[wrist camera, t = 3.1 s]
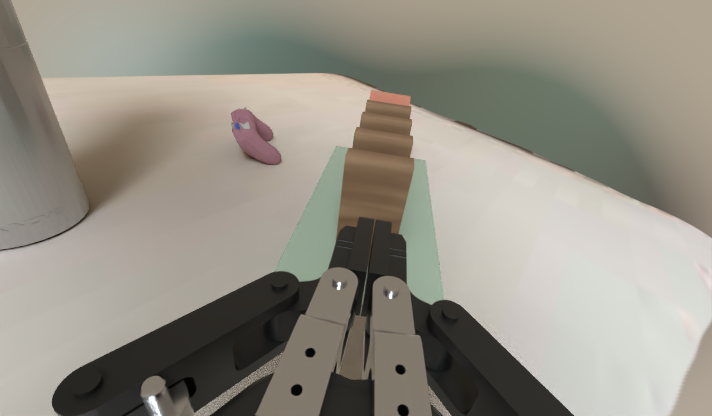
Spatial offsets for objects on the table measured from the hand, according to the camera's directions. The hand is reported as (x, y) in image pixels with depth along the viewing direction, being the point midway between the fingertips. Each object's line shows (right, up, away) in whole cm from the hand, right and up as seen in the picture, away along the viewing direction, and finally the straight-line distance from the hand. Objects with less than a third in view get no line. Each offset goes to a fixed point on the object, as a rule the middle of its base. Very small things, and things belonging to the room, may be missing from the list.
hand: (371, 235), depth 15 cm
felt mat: (+1, +2, +23) cm, 23 cm away
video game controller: (-15, +9, +31) cm, 36 cm away
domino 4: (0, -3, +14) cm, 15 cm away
